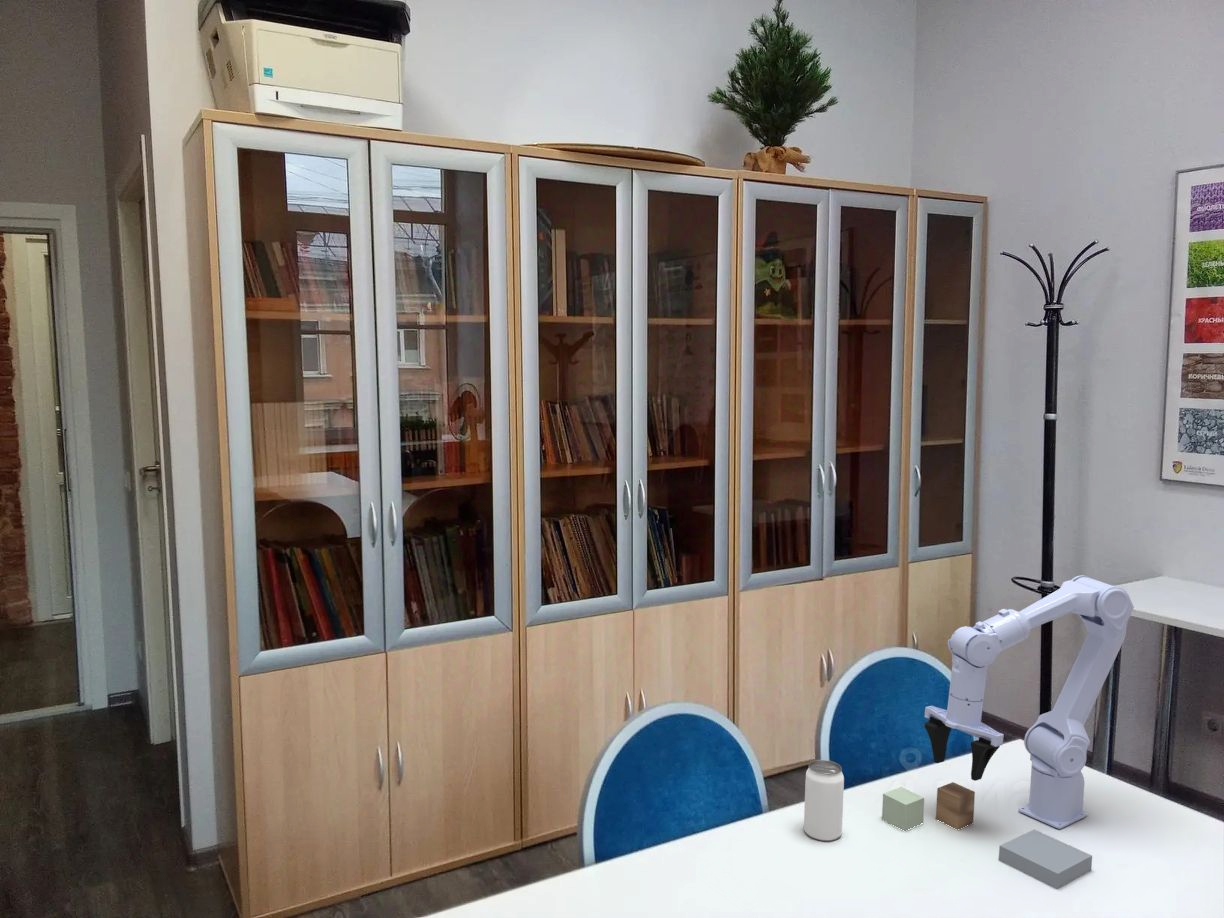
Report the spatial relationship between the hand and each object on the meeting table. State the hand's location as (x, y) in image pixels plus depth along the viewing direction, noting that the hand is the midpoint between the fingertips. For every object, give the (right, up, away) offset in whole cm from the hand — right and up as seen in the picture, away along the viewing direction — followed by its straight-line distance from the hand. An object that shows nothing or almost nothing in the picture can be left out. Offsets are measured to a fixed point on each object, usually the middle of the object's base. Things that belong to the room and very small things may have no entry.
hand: (957, 770), depth 161 cm
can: (-25, -10, -3) cm, 27 cm away
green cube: (-9, -10, +1) cm, 14 cm away
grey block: (+9, -12, -13) cm, 20 cm away
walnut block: (0, -10, +1) cm, 10 cm away
